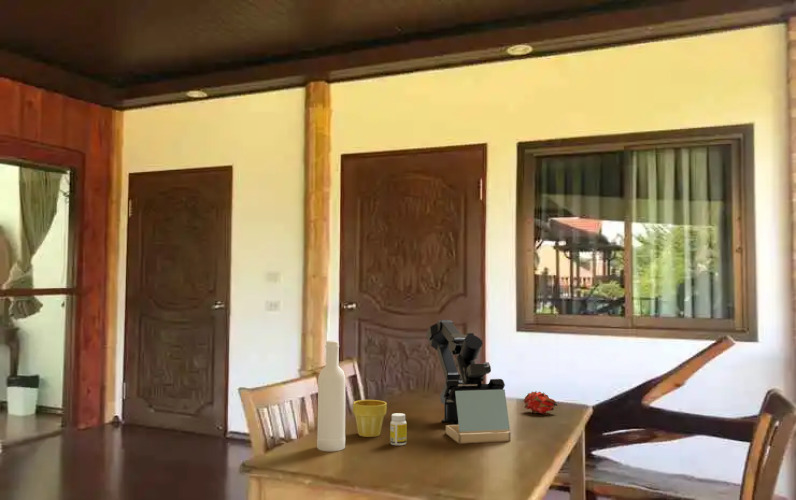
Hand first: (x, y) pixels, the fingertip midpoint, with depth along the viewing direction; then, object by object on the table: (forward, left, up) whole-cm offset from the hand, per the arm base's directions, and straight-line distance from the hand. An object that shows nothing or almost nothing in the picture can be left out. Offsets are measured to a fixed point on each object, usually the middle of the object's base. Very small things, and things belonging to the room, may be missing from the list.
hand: (480, 411), depth 197 cm
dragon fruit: (-8, +47, -8) cm, 48 cm away
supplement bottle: (-14, -21, -8) cm, 27 cm away
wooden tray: (-2, +1, -8) cm, 9 cm away
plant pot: (-28, -19, -8) cm, 35 cm away
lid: (+1, -1, 0) cm, 2 cm away
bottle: (-24, -38, -8) cm, 46 cm away
